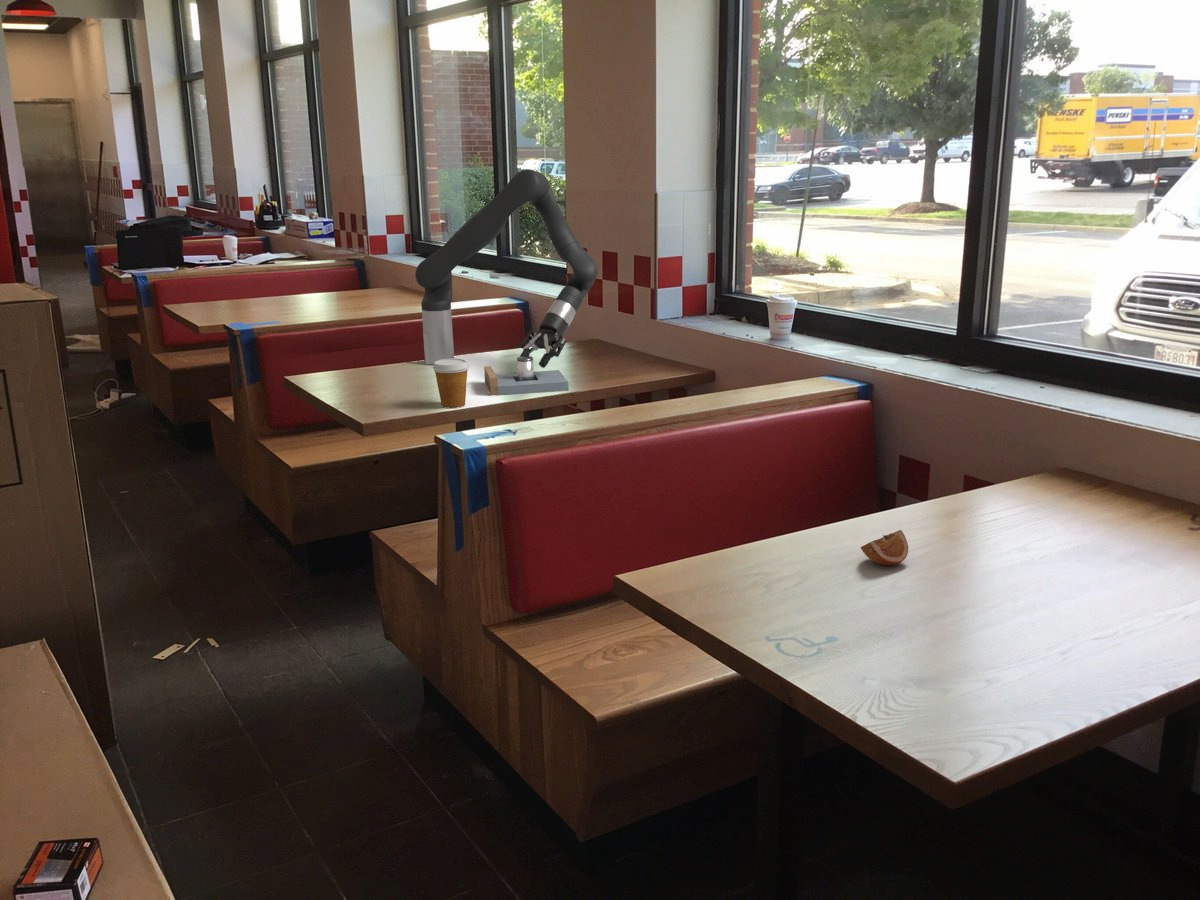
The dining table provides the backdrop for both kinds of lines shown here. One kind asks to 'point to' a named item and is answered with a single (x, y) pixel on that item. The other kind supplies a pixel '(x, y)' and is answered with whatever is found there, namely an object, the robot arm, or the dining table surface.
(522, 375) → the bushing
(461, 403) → the disposable coffee cup
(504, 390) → the jig
